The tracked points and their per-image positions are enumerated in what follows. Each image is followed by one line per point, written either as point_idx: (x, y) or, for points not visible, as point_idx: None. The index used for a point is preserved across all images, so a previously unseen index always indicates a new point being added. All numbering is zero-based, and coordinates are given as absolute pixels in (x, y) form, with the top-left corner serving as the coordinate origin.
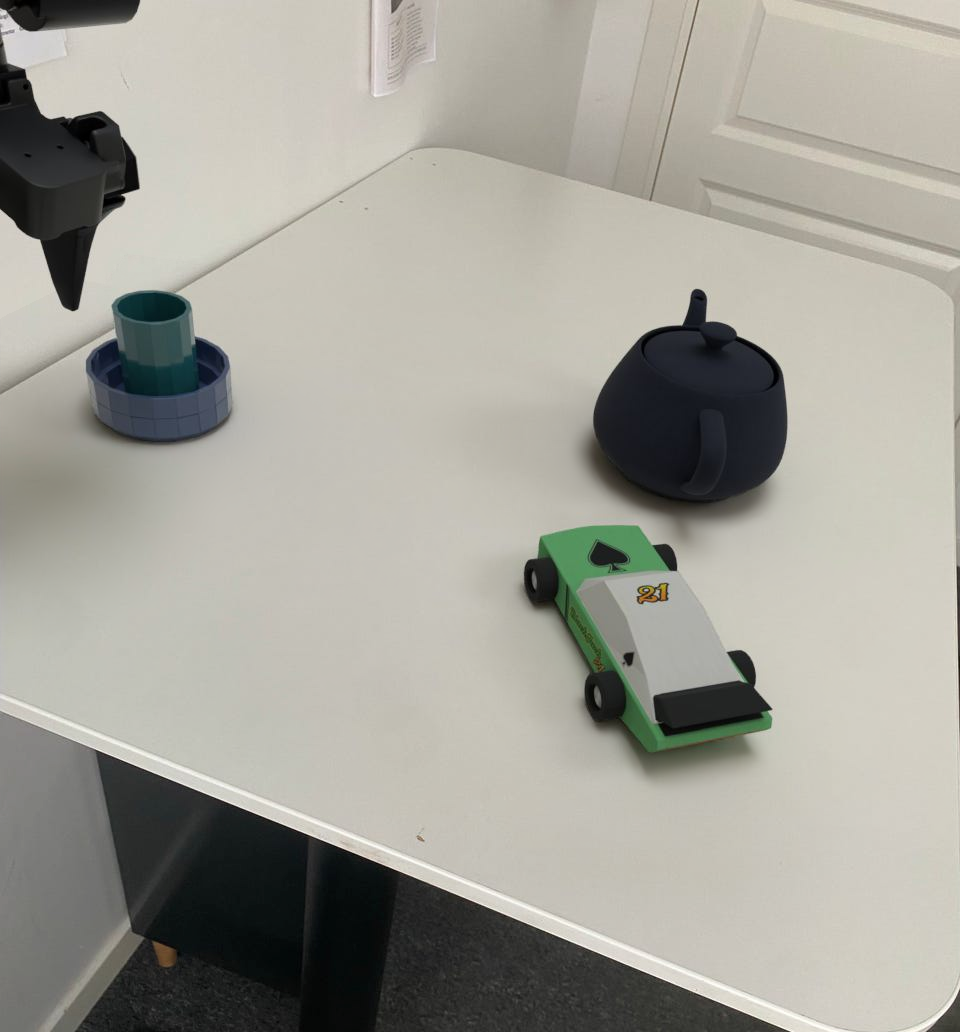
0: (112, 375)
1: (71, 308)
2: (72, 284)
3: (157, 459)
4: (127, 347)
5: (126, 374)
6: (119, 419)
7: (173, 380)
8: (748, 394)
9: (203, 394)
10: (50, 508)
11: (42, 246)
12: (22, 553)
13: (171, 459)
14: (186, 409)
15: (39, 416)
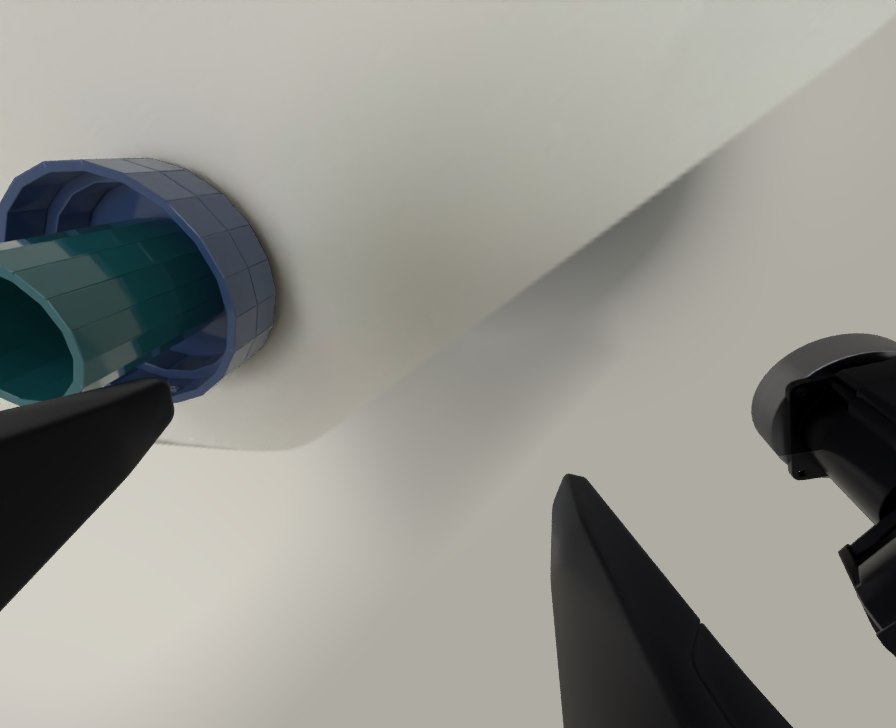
0: (188, 365)
1: (164, 389)
2: (85, 415)
3: (283, 199)
4: (135, 330)
5: (181, 322)
6: (261, 288)
7: (131, 241)
8: None
9: (116, 168)
10: (471, 261)
11: (25, 581)
12: (583, 225)
13: (269, 178)
14: (169, 185)
15: (312, 400)
